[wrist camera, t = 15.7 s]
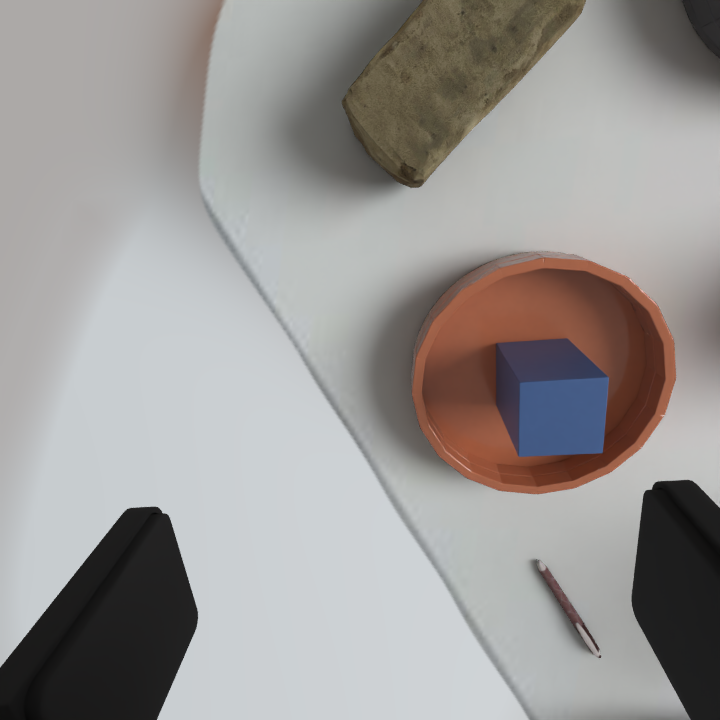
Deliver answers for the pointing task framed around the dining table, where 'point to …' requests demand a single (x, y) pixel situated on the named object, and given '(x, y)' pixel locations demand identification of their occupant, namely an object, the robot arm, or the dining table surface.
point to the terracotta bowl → (528, 323)
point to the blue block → (550, 398)
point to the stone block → (447, 77)
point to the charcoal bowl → (706, 21)
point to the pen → (569, 609)
